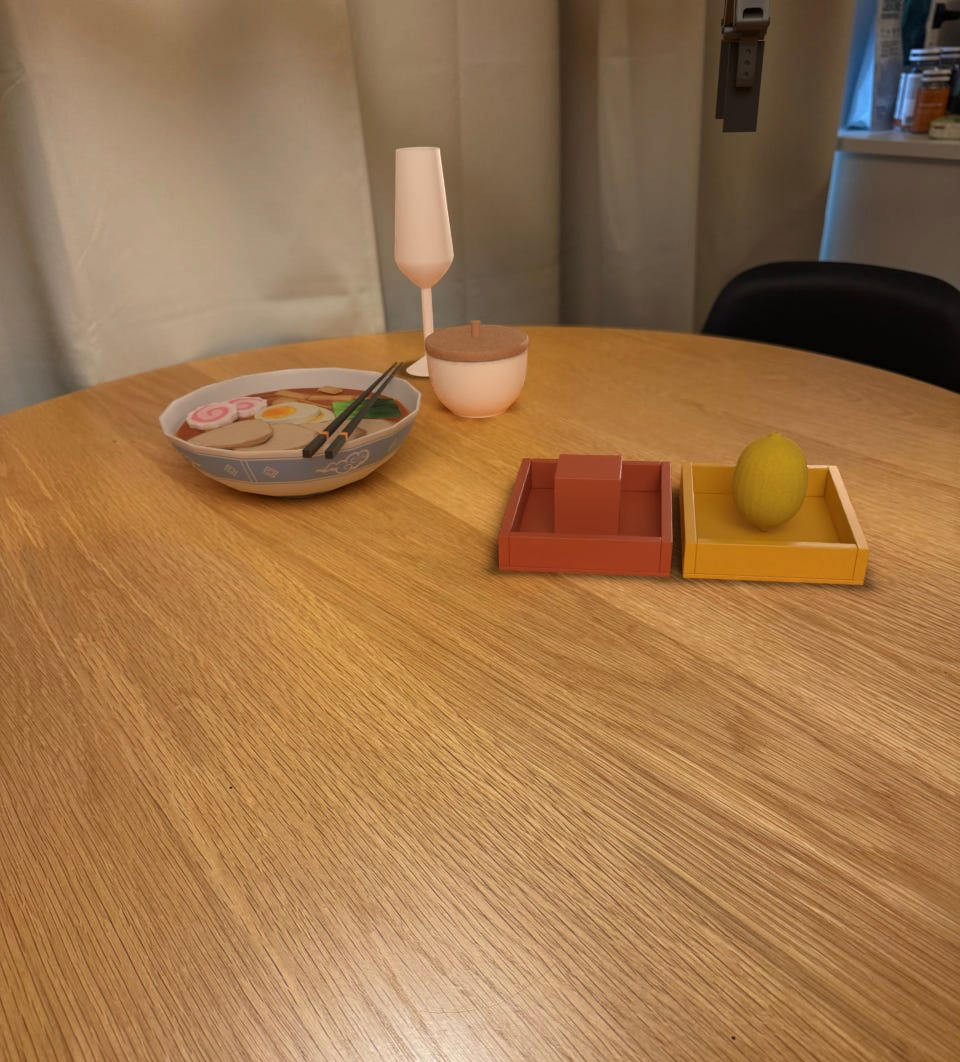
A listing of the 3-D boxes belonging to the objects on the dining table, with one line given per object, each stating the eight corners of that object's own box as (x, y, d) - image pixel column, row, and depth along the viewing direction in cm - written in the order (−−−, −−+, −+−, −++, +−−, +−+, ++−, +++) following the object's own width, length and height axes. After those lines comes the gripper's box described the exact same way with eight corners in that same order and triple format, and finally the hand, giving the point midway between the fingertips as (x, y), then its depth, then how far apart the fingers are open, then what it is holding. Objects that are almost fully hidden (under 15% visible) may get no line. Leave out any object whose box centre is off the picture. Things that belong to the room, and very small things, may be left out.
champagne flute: (391, 374, 120) (373, 151, 107) (425, 360, 124) (412, 145, 112) (436, 382, 116) (423, 153, 104) (470, 367, 121) (461, 146, 108)
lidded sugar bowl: (482, 435, 101) (479, 340, 96) (408, 414, 107) (401, 324, 102) (549, 407, 107) (550, 317, 102) (476, 389, 114) (473, 303, 109)
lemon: (787, 552, 75) (801, 450, 71) (716, 536, 78) (726, 437, 74) (810, 524, 79) (824, 426, 75) (742, 510, 82) (753, 415, 78)
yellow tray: (831, 500, 84) (837, 465, 83) (862, 588, 71) (870, 549, 70) (679, 495, 86) (681, 461, 85) (682, 580, 73) (685, 542, 72)
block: (620, 513, 82) (622, 455, 80) (618, 539, 78) (620, 479, 75) (559, 511, 83) (559, 453, 80) (553, 537, 79) (554, 477, 76)
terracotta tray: (668, 495, 86) (670, 461, 85) (669, 580, 73) (672, 541, 72) (523, 491, 88) (522, 457, 87) (498, 573, 75) (497, 535, 74)
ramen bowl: (240, 431, 104) (227, 352, 100) (455, 440, 100) (451, 358, 95) (119, 535, 83) (96, 441, 79) (384, 552, 79) (375, 453, 75)
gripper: (705, -153, 90) (688, 114, 101) (719, -206, 69) (695, 139, 80) (792, -159, 89) (765, 112, 100) (833, -214, 68) (792, 137, 79)
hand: (734, 125), depth 90 cm, fingers open, 13 cm apart
